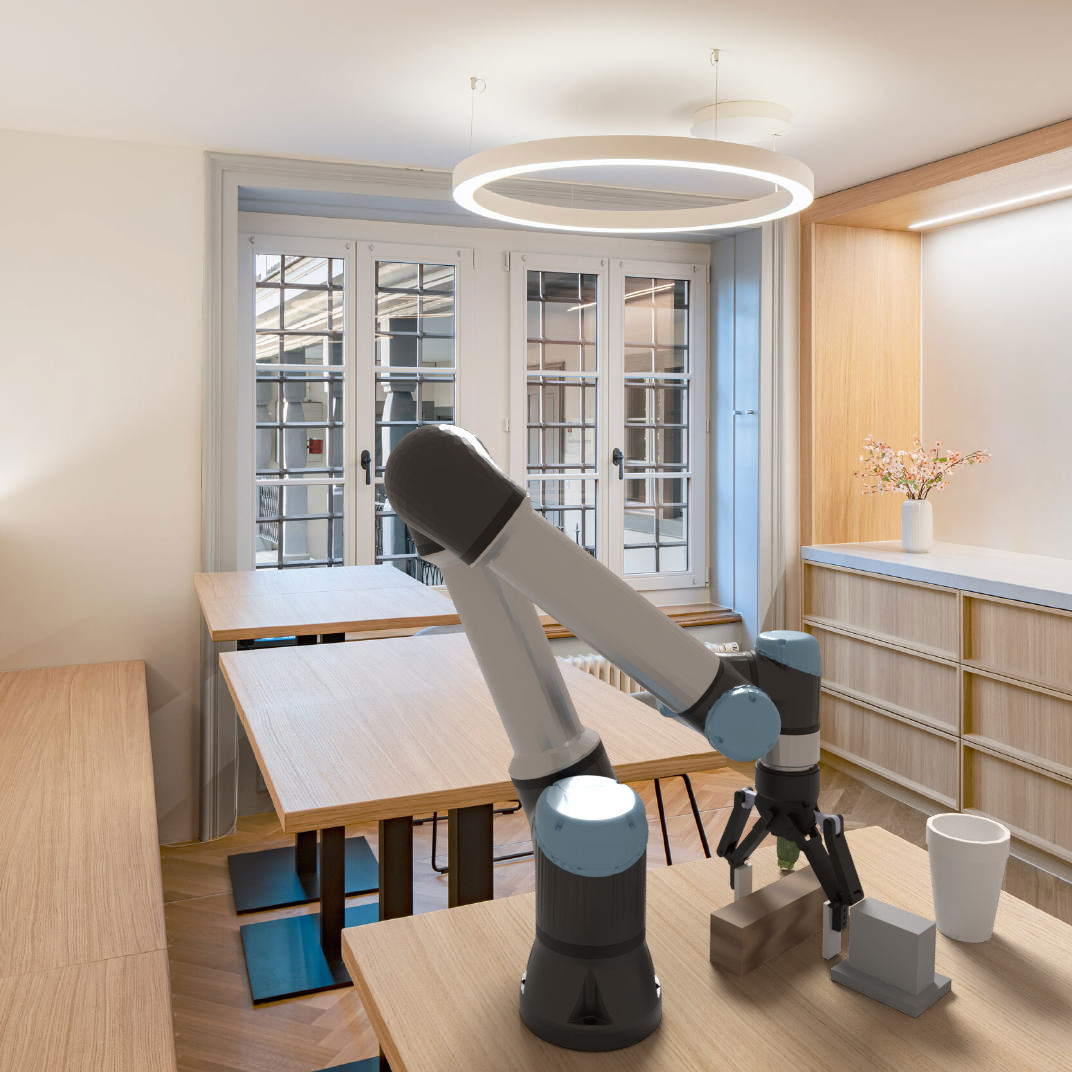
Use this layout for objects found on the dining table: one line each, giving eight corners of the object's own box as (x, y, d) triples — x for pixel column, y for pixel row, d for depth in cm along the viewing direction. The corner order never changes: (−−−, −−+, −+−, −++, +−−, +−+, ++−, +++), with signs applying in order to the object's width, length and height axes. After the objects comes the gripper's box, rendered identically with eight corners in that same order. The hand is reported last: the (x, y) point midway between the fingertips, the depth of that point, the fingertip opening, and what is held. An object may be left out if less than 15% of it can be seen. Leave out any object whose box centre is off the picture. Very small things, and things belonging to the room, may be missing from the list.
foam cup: (928, 943, 116) (932, 839, 115) (917, 907, 125) (920, 810, 124) (1014, 953, 114) (1019, 846, 112) (997, 916, 123) (1001, 817, 121)
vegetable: (783, 859, 139) (786, 723, 138) (812, 867, 137) (816, 729, 135) (770, 869, 136) (773, 731, 134) (799, 878, 133) (802, 737, 131)
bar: (741, 979, 109) (742, 928, 108) (709, 962, 112) (710, 913, 112) (848, 916, 123) (850, 871, 123) (817, 903, 127) (819, 859, 126)
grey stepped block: (915, 1018, 101) (918, 945, 100) (830, 978, 108) (832, 910, 108) (951, 989, 106) (954, 919, 105) (867, 953, 114) (869, 888, 113)
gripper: (898, 778, 109) (894, 961, 111) (724, 733, 127) (724, 891, 129) (863, 795, 104) (860, 986, 106) (688, 745, 122) (688, 910, 124)
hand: (785, 934), depth 118 cm, fingers open, 12 cm apart
